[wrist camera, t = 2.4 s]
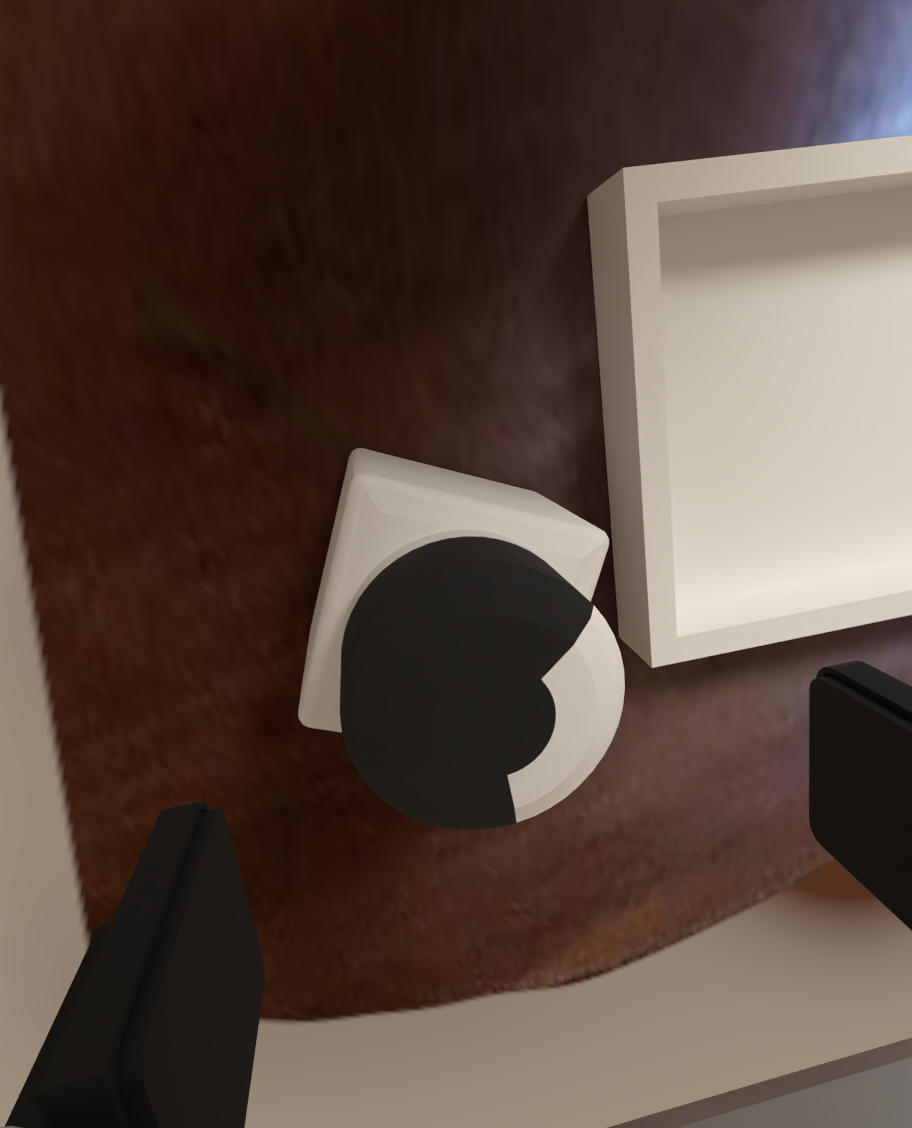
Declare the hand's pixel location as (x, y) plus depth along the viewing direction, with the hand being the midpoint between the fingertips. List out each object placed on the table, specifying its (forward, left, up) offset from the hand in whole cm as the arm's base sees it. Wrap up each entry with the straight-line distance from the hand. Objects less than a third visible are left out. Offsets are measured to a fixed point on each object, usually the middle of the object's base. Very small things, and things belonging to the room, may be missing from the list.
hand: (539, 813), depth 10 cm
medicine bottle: (0, 0, -15) cm, 15 cm away
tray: (-3, +17, -15) cm, 23 cm away
